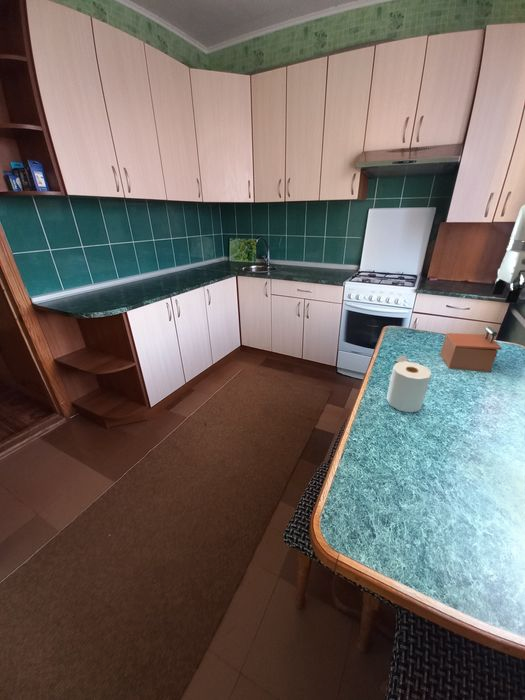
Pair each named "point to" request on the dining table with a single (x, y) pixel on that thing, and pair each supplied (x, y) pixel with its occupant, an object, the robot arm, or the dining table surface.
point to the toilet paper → (408, 386)
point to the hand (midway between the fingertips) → (503, 298)
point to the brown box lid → (475, 340)
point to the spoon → (400, 359)
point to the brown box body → (467, 357)
